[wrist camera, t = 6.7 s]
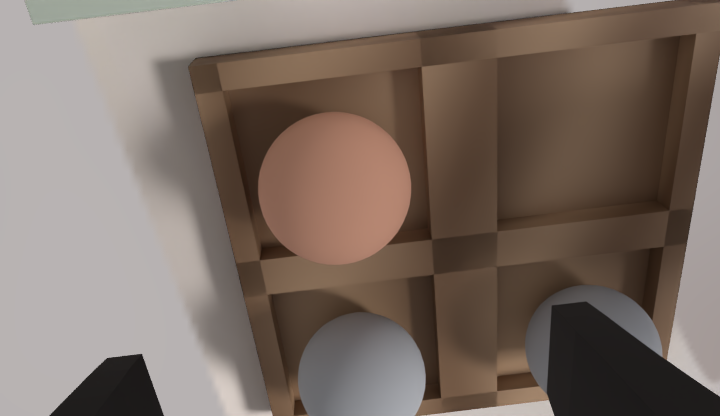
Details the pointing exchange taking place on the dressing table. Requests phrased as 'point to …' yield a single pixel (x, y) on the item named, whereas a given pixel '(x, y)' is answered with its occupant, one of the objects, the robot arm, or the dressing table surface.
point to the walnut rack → (478, 182)
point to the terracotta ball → (334, 188)
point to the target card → (99, 8)
